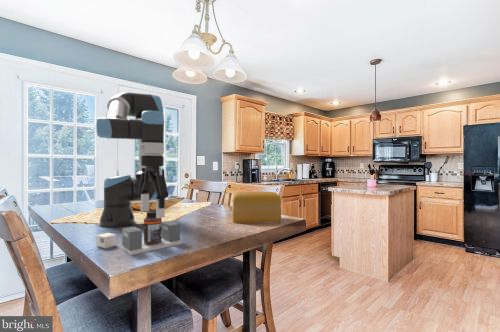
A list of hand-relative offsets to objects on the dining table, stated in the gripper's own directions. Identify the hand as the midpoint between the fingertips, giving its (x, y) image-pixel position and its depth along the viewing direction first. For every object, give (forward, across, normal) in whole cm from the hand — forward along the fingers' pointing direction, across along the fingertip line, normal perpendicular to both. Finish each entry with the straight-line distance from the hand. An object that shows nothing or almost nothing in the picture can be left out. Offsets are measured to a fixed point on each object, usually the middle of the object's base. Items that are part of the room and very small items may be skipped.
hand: (152, 214), depth 94 cm
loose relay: (+11, -10, -12) cm, 20 cm away
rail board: (+11, +1, 0) cm, 11 cm away
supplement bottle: (+10, +1, 0) cm, 10 cm away
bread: (+12, -5, +57) cm, 59 cm away
